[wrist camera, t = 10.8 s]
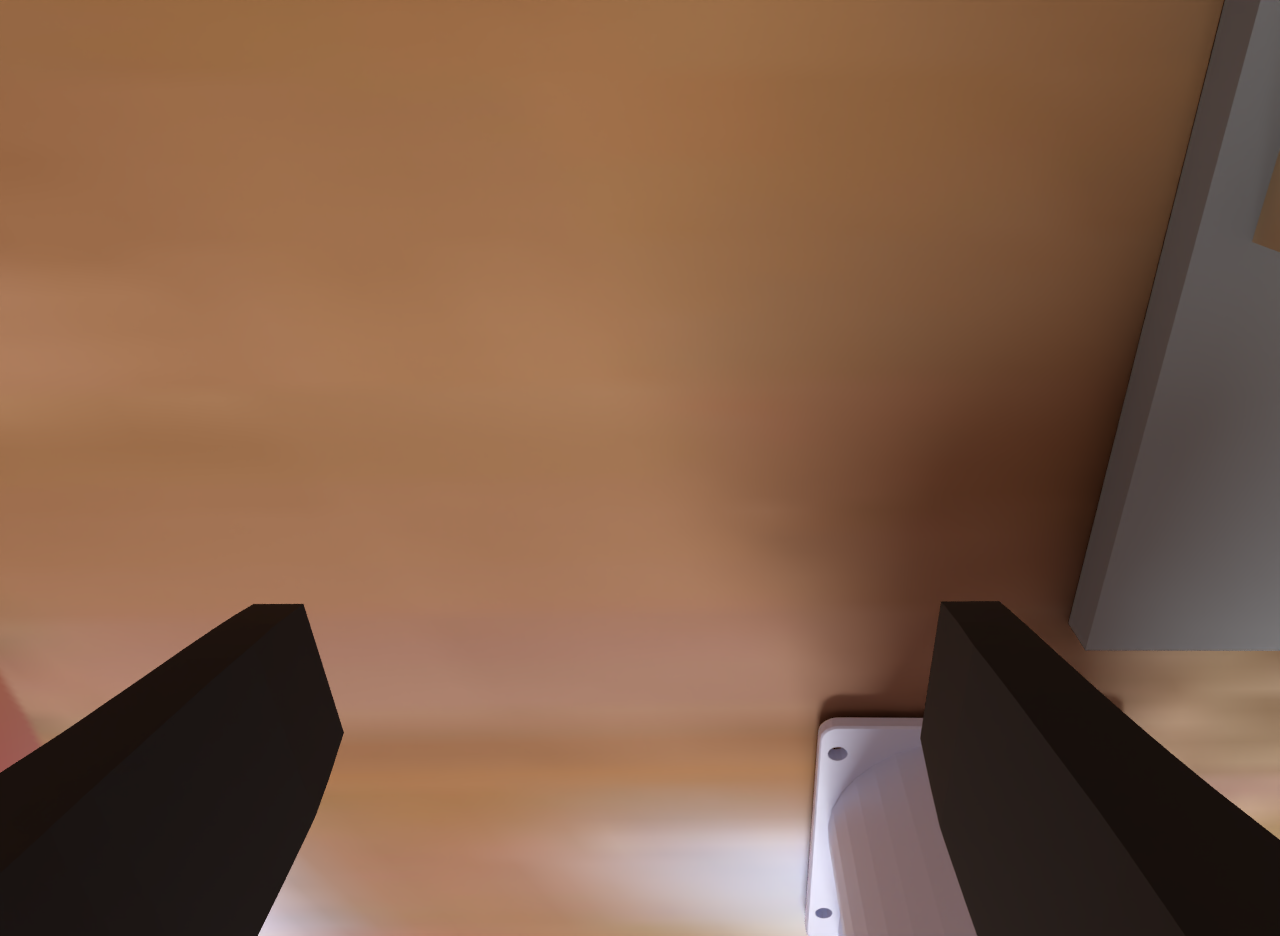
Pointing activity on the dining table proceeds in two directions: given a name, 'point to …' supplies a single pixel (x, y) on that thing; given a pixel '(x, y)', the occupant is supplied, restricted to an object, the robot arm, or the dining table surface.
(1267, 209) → the maple block
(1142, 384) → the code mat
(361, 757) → the dining table surface
